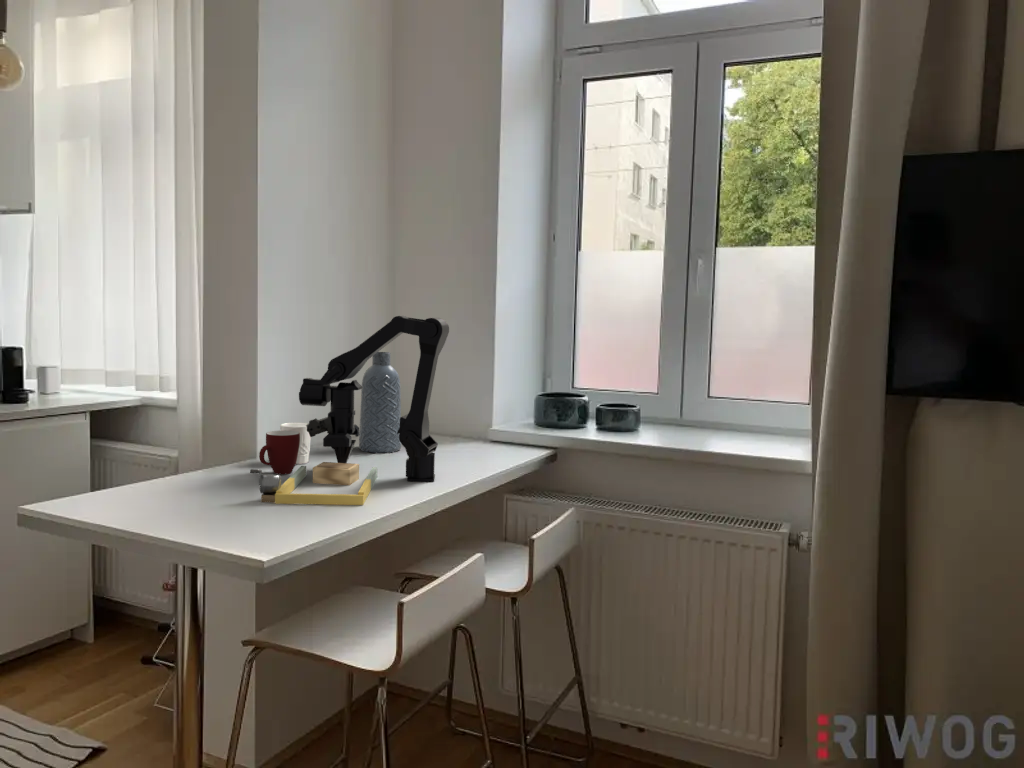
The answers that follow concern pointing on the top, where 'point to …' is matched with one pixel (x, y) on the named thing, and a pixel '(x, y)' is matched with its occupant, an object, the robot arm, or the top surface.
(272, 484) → the winch
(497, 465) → the top surface
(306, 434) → the white cup
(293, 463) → the mug
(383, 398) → the vase
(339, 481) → the box
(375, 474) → the bay
